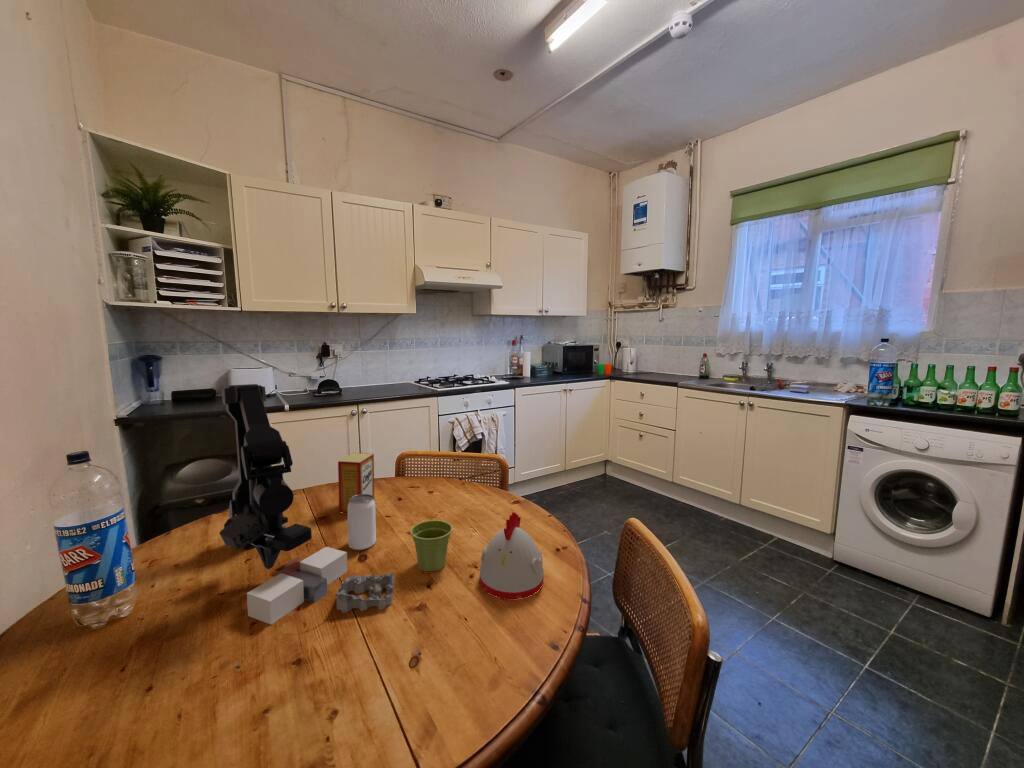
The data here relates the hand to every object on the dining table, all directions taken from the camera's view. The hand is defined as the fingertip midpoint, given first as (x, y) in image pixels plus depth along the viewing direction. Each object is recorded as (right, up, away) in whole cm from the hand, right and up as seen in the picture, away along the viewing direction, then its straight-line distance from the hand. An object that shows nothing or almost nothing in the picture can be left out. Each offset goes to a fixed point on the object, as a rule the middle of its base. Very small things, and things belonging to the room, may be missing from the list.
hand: (269, 568), depth 86 cm
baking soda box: (+4, +1, +38) cm, 38 cm away
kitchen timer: (+51, -4, +2) cm, 52 cm away
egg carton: (+22, -4, -5) cm, 23 cm away
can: (+14, -2, +16) cm, 21 cm away
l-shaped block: (+10, -3, -4) cm, 11 cm away
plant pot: (+33, -3, +8) cm, 34 cm away
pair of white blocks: (+9, -3, -3) cm, 10 cm away
